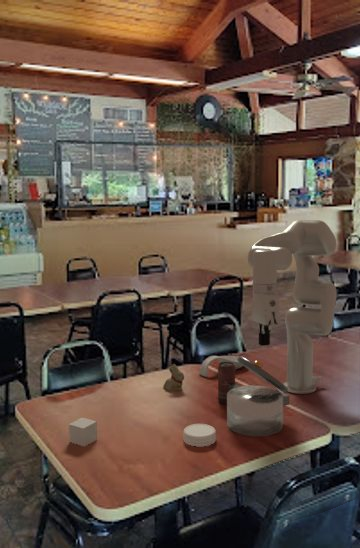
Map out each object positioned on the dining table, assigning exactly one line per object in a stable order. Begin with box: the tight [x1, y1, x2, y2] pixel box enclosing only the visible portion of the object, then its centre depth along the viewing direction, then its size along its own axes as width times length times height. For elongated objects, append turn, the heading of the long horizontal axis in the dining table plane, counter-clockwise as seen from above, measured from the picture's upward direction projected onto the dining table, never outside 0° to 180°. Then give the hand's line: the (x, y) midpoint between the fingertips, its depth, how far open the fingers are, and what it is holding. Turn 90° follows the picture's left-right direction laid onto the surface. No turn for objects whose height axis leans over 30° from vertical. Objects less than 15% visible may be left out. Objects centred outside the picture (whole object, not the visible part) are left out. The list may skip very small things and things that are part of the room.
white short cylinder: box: [182, 423, 217, 448], centre depth 172 cm, size 10×10×4 cm
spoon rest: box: [198, 355, 244, 377], centre depth 238 cm, size 24×12×7 cm, turn 130°
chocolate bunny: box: [162, 363, 185, 392], centre depth 216 cm, size 6×8×10 cm
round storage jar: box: [226, 381, 290, 437], centre depth 186 cm, size 20×26×10 cm
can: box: [217, 362, 237, 405], centre depth 203 cm, size 6×6×14 cm
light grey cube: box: [68, 417, 98, 448], centre depth 173 cm, size 6×6×6 cm
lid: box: [237, 355, 288, 394], centre depth 182 cm, size 19×19×4 cm
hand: (264, 344), depth 180 cm, fingers closed
